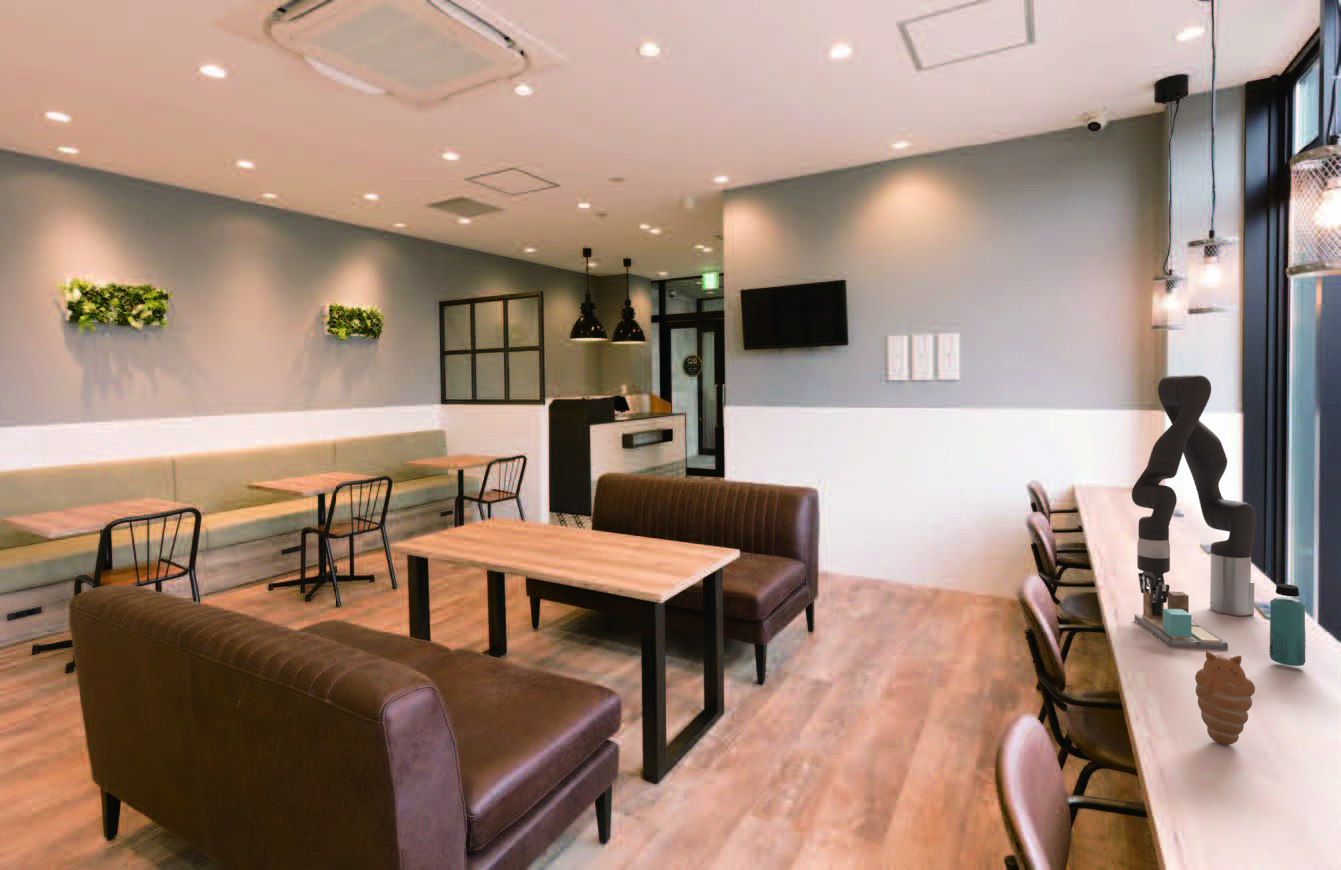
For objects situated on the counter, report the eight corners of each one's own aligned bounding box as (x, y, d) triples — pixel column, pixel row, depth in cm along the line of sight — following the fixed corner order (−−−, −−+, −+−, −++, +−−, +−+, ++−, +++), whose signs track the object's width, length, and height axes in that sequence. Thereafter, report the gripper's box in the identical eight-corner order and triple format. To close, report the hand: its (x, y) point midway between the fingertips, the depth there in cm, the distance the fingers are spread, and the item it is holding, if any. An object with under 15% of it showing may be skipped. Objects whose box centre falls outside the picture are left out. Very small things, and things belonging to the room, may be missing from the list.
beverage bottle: (1312, 673, 157) (1314, 589, 156) (1280, 672, 158) (1281, 589, 157) (1293, 662, 163) (1294, 581, 162) (1261, 661, 165) (1262, 581, 163)
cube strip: (1157, 618, 193) (1157, 590, 192) (1191, 642, 175) (1191, 612, 174) (1141, 617, 194) (1141, 590, 193) (1174, 641, 175) (1174, 611, 175)
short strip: (1181, 618, 191) (1182, 591, 191) (1196, 628, 184) (1196, 600, 183) (1165, 618, 192) (1165, 590, 192) (1179, 627, 185) (1179, 599, 184)
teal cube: (1182, 631, 180) (1182, 609, 179) (1191, 637, 175) (1191, 615, 175) (1162, 630, 181) (1162, 608, 180) (1171, 636, 176) (1171, 614, 176)
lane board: (1185, 622, 192) (1185, 614, 192) (1227, 650, 172) (1227, 641, 172) (1134, 620, 195) (1134, 612, 195) (1169, 647, 175) (1169, 639, 175)
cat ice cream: (1197, 748, 128) (1197, 656, 127) (1191, 729, 135) (1192, 642, 133) (1257, 759, 123) (1258, 664, 122) (1248, 739, 130) (1249, 649, 129)
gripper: (1181, 560, 182) (1180, 622, 183) (1156, 548, 196) (1156, 605, 197) (1149, 559, 184) (1149, 621, 185) (1127, 547, 198) (1127, 604, 199)
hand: (1153, 612), depth 191 cm, fingers closed on cube strip, 3 cm apart
